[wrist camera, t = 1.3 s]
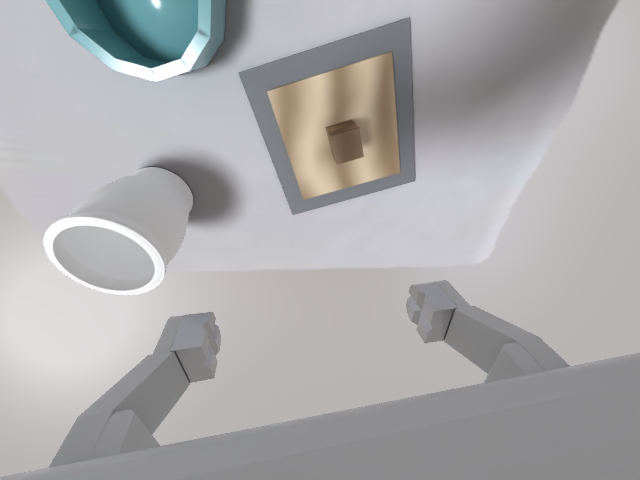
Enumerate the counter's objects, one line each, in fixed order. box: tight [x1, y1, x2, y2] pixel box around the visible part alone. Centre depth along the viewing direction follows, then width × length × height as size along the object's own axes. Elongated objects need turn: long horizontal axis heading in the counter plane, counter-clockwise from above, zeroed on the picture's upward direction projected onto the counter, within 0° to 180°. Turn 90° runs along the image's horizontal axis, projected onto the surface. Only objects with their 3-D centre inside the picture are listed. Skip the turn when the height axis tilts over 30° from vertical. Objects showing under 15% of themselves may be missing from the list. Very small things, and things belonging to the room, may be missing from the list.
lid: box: [267, 52, 400, 200], centre depth 33 cm, size 15×15×5 cm
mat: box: [239, 17, 415, 215], centre depth 35 cm, size 20×20×1 cm
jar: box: [43, 167, 193, 295], centre depth 32 cm, size 11×10×15 cm
